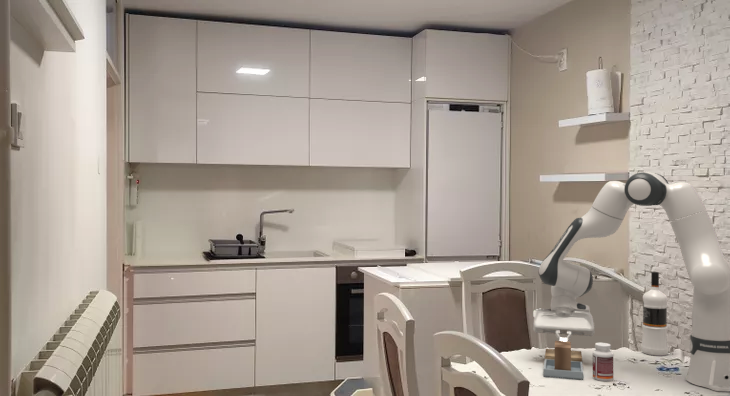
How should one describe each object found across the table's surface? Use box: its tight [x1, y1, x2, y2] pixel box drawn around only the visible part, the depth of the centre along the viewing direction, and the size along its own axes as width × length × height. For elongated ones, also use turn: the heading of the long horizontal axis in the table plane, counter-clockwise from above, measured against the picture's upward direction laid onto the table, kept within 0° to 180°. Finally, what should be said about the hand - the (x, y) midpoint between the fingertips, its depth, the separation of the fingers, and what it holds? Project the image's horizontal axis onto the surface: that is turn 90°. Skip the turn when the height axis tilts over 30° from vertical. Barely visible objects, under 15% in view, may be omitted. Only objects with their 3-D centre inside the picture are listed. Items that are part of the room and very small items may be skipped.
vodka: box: [640, 271, 669, 357], centre depth 232 cm, size 9×9×30 cm
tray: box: [543, 358, 584, 381], centre depth 206 cm, size 12×13×2 cm
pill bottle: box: [592, 342, 614, 382], centre depth 200 cm, size 6×6×11 cm
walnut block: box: [554, 340, 572, 371], centre depth 206 cm, size 5×9×9 cm
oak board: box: [544, 348, 583, 363], centre depth 218 cm, size 12×10×4 cm
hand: (563, 343), depth 214 cm, fingers closed
